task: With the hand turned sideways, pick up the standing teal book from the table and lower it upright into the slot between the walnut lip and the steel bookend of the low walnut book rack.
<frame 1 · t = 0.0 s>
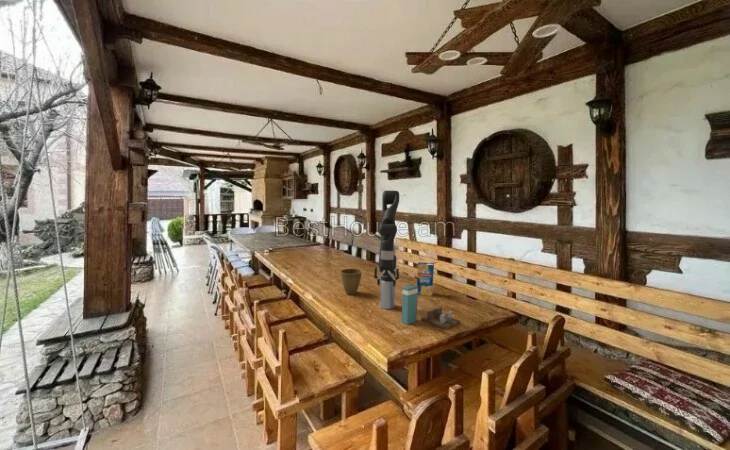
hand: (386, 286, 183), 17 cm above the table, tool pointing down, fingers open, 8 cm apart
blue food box: (424, 294, 225), on the table
book rack: (440, 321, 175), on the table
book: (409, 321, 175), on the table
plant pot: (350, 293, 224), on the table
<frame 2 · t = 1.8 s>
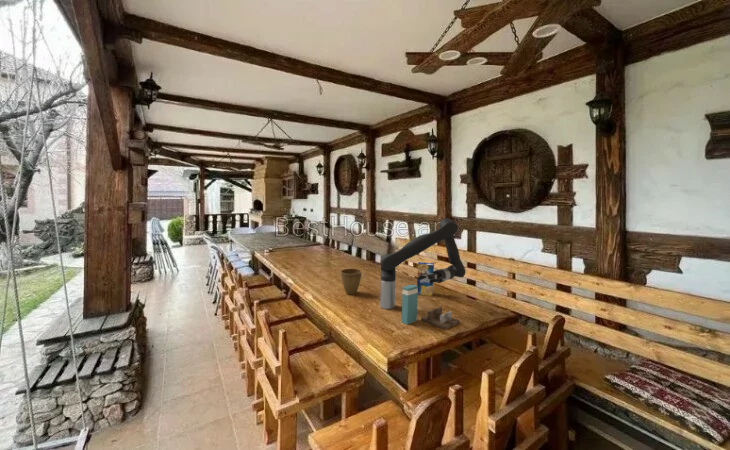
hand: (424, 279, 181), 22 cm above the table, tool horizontal, fingers open, 8 cm apart
nothing on the table moved.
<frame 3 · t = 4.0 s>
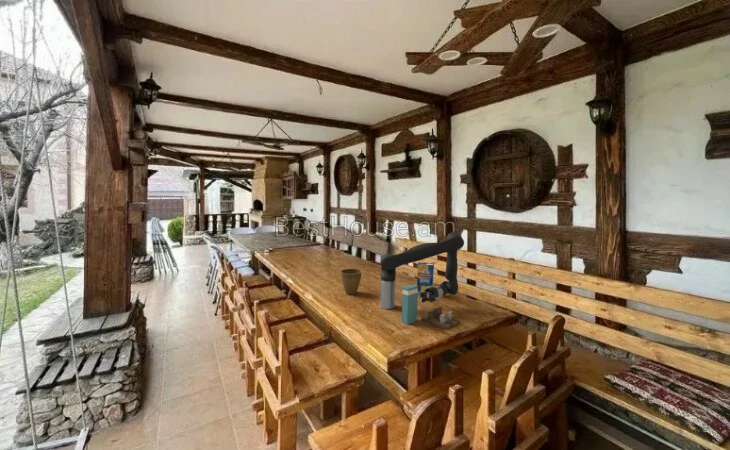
hand: (416, 298, 177), 12 cm above the table, tool horizontal, fingers open, 8 cm apart
nothing on the table moved.
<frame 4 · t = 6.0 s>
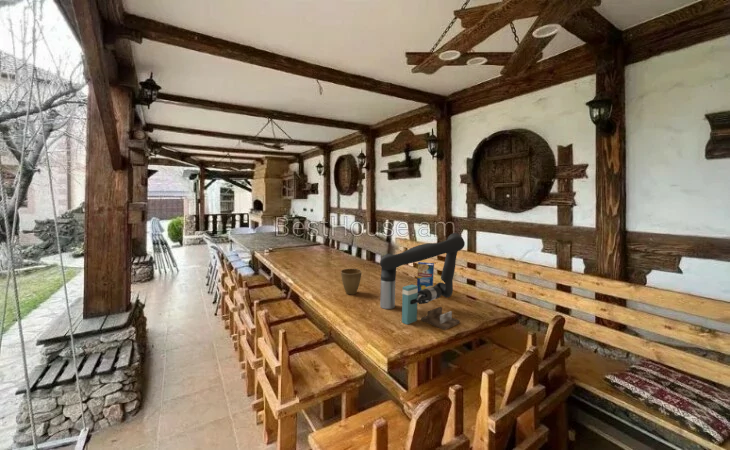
hand: (407, 301, 173), 12 cm above the table, tool horizontal, fingers closed on book, 4 cm apart
book: (409, 321, 175), on the table, touching gripper
everything else where it was.
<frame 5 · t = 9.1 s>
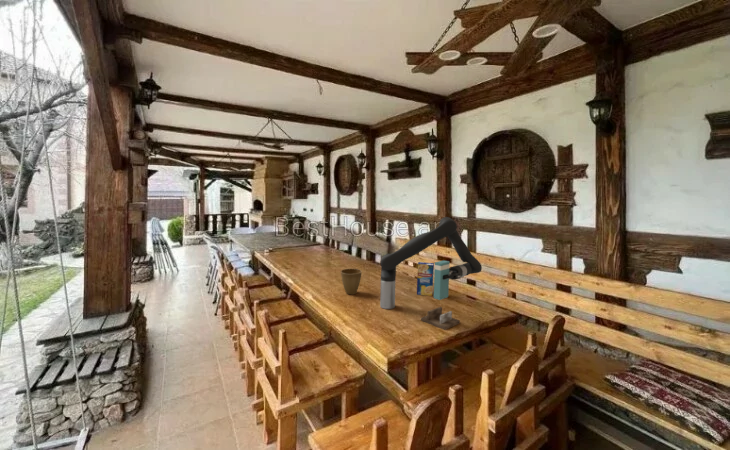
hand: (439, 276, 172), 26 cm above the table, tool horizontal, fingers closed on book, 4 cm apart
book: (441, 297, 174), point 14 cm above the table, touching gripper
everything else where it was.
when the fingers open (14 cm above the table, at t = 12.2 s): book stays where it is, resting on book rack.
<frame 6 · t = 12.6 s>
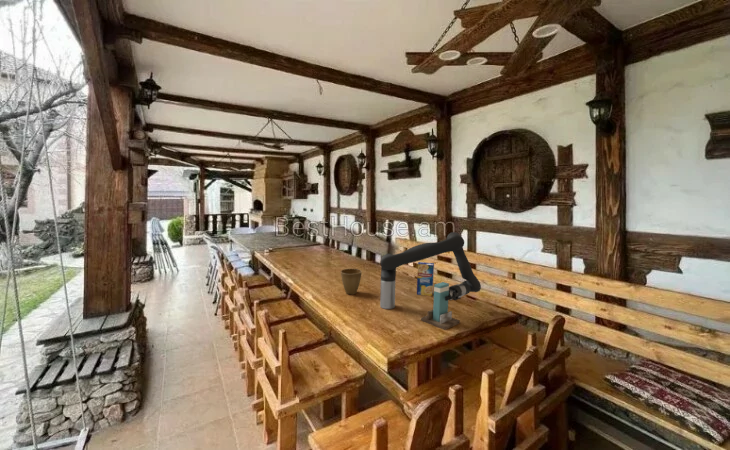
hand: (439, 296, 173), 14 cm above the table, tool horizontal, fingers open, 7 cm apart
book: (440, 319, 175), point 2 cm above the table, touching book rack
everything else where it was.
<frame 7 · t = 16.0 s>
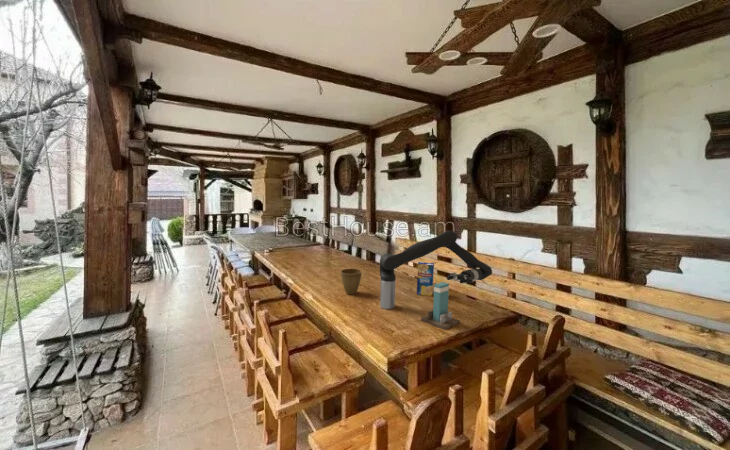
hand: (453, 279, 180), 22 cm above the table, tool horizontal, fingers open, 8 cm apart
nothing on the table moved.
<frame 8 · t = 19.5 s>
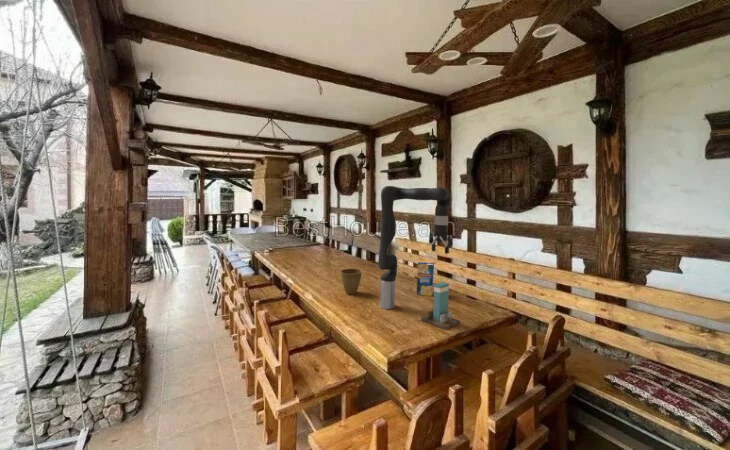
hand: (440, 252, 178), 38 cm above the table, tool pointing down, fingers open, 8 cm apart
nothing on the table moved.
at the end: book 0.2 cm off-centre on the book rack, point 1.5 cm above the book rack's base; book tilted 0°; the gripper is holding nothing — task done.
